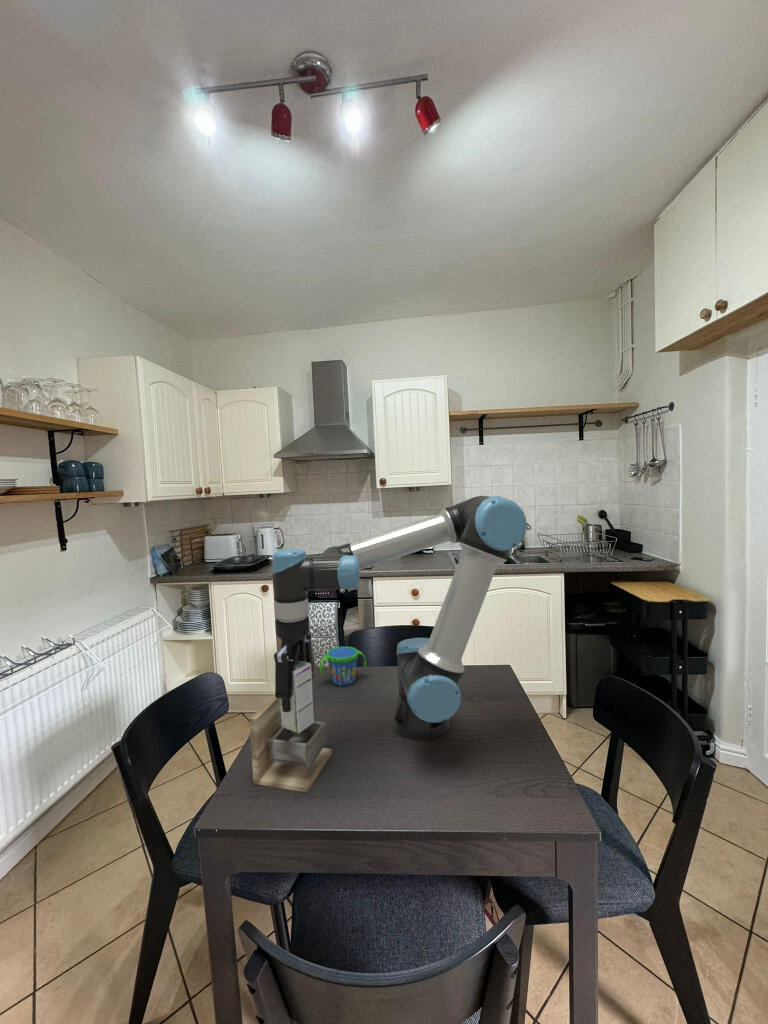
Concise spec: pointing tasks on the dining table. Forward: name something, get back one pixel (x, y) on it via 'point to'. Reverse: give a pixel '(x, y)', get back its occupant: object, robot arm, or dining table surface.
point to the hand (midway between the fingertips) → (297, 714)
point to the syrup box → (301, 698)
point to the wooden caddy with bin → (286, 750)
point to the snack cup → (342, 664)
